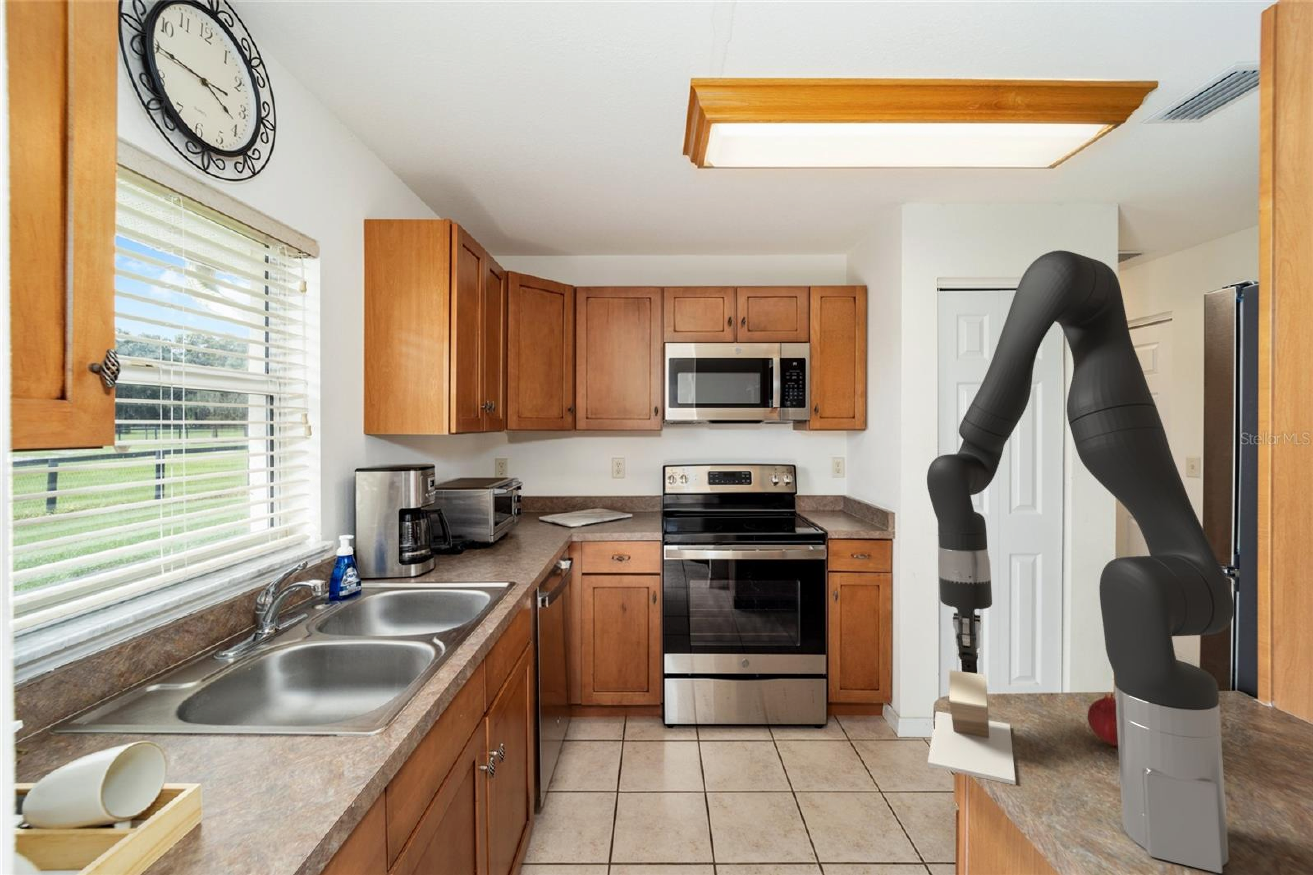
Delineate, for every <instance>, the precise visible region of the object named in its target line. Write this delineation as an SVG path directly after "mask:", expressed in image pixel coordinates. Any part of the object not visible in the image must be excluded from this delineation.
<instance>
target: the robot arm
mask: <svg viewBox="0 0 1313 875" xmlns="http://www.w3.org/2000/svg"><path fill="white" fill-rule="evenodd" d="M1055 322H1057V323H1058V324H1059V326H1060V327H1061V329H1062V331H1063V333H1064V336H1065V338H1066V340H1067V343H1068V346H1069V347H1068V348H1069V349H1070V352H1071V356H1072V364H1073V371H1072V378H1071V382H1070V385H1069V390H1068V393H1067V394H1068V395H1067V401H1066V415H1067V421H1068V425H1069V427H1070V428H1069V429H1070V432H1071V435H1072V439H1073V441H1074V445H1075V449H1076V452H1077V454H1078V457H1079V458H1080V461H1081V463H1082V464H1083V465H1084V467H1085V468H1086V470H1088V472H1089V473H1090V474H1091V475H1092V476H1093V477H1094V478H1095V480H1096V481H1098V482H1099V484H1101V485H1102V486H1103V487H1104V488H1105V489H1106V490H1107V491H1108V492H1109V493H1110V494H1111V495H1112V496H1113V497H1114V498H1116V499H1117V500H1118V502H1120V503H1121V504H1122V505H1123V506H1124V508H1125V509H1127V511H1128V512H1129V514H1130V515H1131V516H1132V518H1133V519H1134V520H1135V522H1136V524H1137V526H1138V527H1139V529H1140V532H1141V534H1142V536H1143V539H1144V541H1145V544H1146V547H1147V550H1148V552H1149V555H1140V556H1139V555H1137V556H1123V557H1122V556H1121V557H1118V558H1114V559H1112V560H1110V561H1109V562H1108V563H1107V564H1106V565H1105V566H1104V568H1103V569H1102V571H1101V574H1100V575H1101V576H1100V579H1099V585H1098V586H1099V588H1098V589H1099V603H1100V610H1101V618H1102V626H1103V627H1102V628H1103V635H1104V643H1105V644H1104V645H1105V651H1106V656H1107V658H1108V661H1109V664H1110V667H1111V670H1112V672H1113V676H1114V678H1113V680H1114V695H1115V700H1116V717H1117V734H1118V745H1117V750H1118V752H1117V753H1118V764H1119V765H1118V766H1119V782H1120V783H1119V784H1120V785H1119V786H1120V799H1121V815H1122V816H1121V817H1122V827H1123V830H1124V832H1125V833H1126V834H1127V835H1128V837H1130V838H1129V839H1131V840H1132V841H1134V842H1135V843H1136V844H1138V845H1139V846H1141V847H1142V848H1143V849H1144V850H1145V851H1146V852H1147V854H1148V856H1150V857H1152V858H1155V859H1160V860H1164V861H1168V862H1171V863H1177V864H1181V865H1185V866H1188V867H1192V868H1196V869H1201V870H1205V871H1209V872H1213V873H1218V874H1223V872H1224V871H1223V867H1224V865H1225V866H1226V864H1227V863H1228V862H1229V857H1230V856H1229V842H1228V840H1229V839H1228V827H1227V826H1228V824H1227V813H1226V798H1225V797H1226V796H1225V781H1224V765H1223V761H1224V760H1223V749H1222V731H1221V729H1222V728H1221V726H1222V725H1221V715H1220V714H1221V713H1220V710H1221V709H1220V695H1219V694H1220V693H1219V685H1218V682H1217V680H1216V679H1215V677H1214V676H1213V675H1212V674H1211V673H1210V672H1208V671H1207V670H1205V669H1203V668H1201V667H1198V666H1197V665H1194V664H1192V663H1188V662H1186V661H1183V660H1179V659H1177V657H1176V653H1175V646H1174V642H1173V637H1187V636H1188V637H1189V636H1207V635H1208V636H1209V635H1215V634H1216V635H1217V634H1219V633H1221V632H1223V631H1225V630H1226V629H1227V628H1228V627H1229V626H1230V625H1231V624H1232V620H1233V618H1234V612H1235V602H1234V599H1233V591H1232V589H1231V586H1230V584H1229V581H1228V579H1227V575H1226V573H1225V571H1224V569H1223V567H1222V565H1221V563H1220V561H1219V559H1218V557H1217V555H1216V554H1217V553H1216V552H1215V550H1214V548H1213V547H1212V544H1211V543H1210V541H1209V538H1208V537H1207V534H1206V532H1205V531H1204V529H1203V527H1202V525H1201V523H1200V520H1199V518H1198V516H1197V514H1196V512H1195V509H1194V507H1193V505H1192V502H1191V501H1190V499H1189V495H1188V494H1187V491H1186V488H1185V485H1184V483H1183V480H1182V478H1181V477H1182V476H1181V475H1180V472H1179V471H1178V467H1177V464H1176V462H1175V459H1174V456H1173V453H1172V451H1171V448H1170V445H1169V440H1168V437H1167V434H1166V431H1165V428H1164V425H1163V422H1162V419H1161V416H1160V414H1159V410H1158V408H1157V405H1156V402H1155V400H1154V398H1153V395H1152V393H1151V391H1150V388H1149V385H1148V382H1147V379H1146V376H1145V374H1144V371H1143V367H1142V365H1141V362H1140V360H1139V357H1138V354H1137V351H1136V350H1135V347H1134V344H1133V341H1132V337H1131V333H1130V328H1129V324H1128V320H1127V313H1126V309H1125V303H1124V298H1123V293H1122V289H1121V285H1120V282H1119V278H1118V276H1117V274H1116V272H1115V271H1114V270H1113V269H1112V268H1111V267H1110V266H1109V265H1107V264H1106V263H1104V262H1103V261H1100V260H1099V259H1098V260H1097V259H1095V258H1091V257H1089V256H1085V255H1083V254H1080V253H1075V252H1073V251H1069V250H1062V249H1061V250H1060V249H1059V250H1053V251H1050V252H1047V253H1044V254H1042V255H1040V256H1039V257H1038V258H1036V259H1035V260H1034V261H1033V262H1032V263H1031V264H1030V265H1029V266H1028V267H1027V268H1026V269H1025V271H1024V274H1023V275H1022V277H1021V279H1020V281H1019V283H1018V286H1017V288H1016V290H1015V293H1014V295H1013V298H1012V302H1011V304H1010V308H1009V310H1008V313H1007V316H1006V319H1005V322H1004V324H1003V327H1002V331H1001V333H1000V336H999V339H998V342H997V344H996V348H995V351H994V353H993V357H992V359H991V362H990V365H989V366H988V369H987V372H986V374H985V376H984V379H983V381H982V383H981V384H980V386H979V389H978V390H977V392H976V394H975V396H974V398H973V400H972V402H971V404H970V406H969V407H968V409H967V411H966V413H965V415H964V416H963V418H962V419H961V420H962V421H960V424H959V428H958V434H959V436H960V437H961V439H963V440H962V443H961V445H960V448H959V450H958V451H957V453H953V454H951V453H950V454H942V455H940V456H938V457H936V458H935V459H934V460H932V462H931V464H930V465H929V467H928V470H927V475H926V484H927V485H926V486H927V491H928V496H929V498H930V501H931V504H932V508H933V511H934V512H933V513H934V514H935V517H936V519H937V524H938V525H937V526H938V527H937V528H938V545H939V546H938V547H939V549H938V558H937V560H938V563H937V564H938V578H939V583H938V584H939V595H940V596H939V599H940V602H941V603H942V604H943V605H945V606H947V607H949V608H951V607H953V608H955V609H956V610H957V612H953V616H952V627H953V629H954V633H955V637H954V638H955V645H956V646H957V647H958V657H959V660H960V664H961V666H960V667H961V672H968V673H976V674H978V660H979V652H978V649H979V648H980V646H981V628H982V627H981V626H982V625H981V623H982V621H981V617H982V616H981V614H976V613H975V612H976V610H985V609H989V608H991V607H992V605H993V593H992V591H993V590H992V575H991V573H992V572H991V560H990V556H989V550H988V537H987V535H988V534H987V525H986V524H987V522H986V520H985V517H984V516H983V514H982V513H980V512H978V511H975V510H974V506H973V505H974V504H973V500H972V496H974V495H977V494H979V493H980V494H981V492H983V491H985V489H987V487H988V486H989V485H990V484H991V483H992V481H993V479H994V478H995V475H996V473H997V470H998V467H999V464H1000V463H1001V459H1002V457H1003V452H1004V448H1005V445H1006V443H1007V442H1008V440H1009V438H1010V437H1011V435H1012V433H1013V431H1014V430H1015V428H1016V426H1018V423H1019V421H1020V420H1021V418H1022V417H1023V414H1024V413H1025V411H1026V409H1027V406H1028V403H1029V400H1030V396H1031V393H1032V392H1031V391H1032V385H1033V384H1032V383H1033V373H1034V367H1035V361H1036V358H1037V354H1038V352H1039V348H1040V346H1041V344H1042V342H1043V341H1044V338H1045V336H1046V335H1047V333H1048V332H1049V330H1050V329H1051V327H1052V326H1053V325H1054V323H1055Z"/></svg>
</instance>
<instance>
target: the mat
mask: <svg viewBox="0 0 1313 875" xmlns="http://www.w3.org/2000/svg"><path fill="white" fill-rule="evenodd" d="M934 721H935V729H934V726H933V727H932V734H931V740H930V746H929V752H928V757H927V767H930V768H935V769H939V770H944V771H949V772H952V773H957V774H963V775H967V776H972V777H977V778H982V779H984V780H991V781H995V782H999V783H1000V782H1001V783H1004V784H1007V785H1008V784H1010V785H1014V786H1016V774H1015V773H1016V772H1015V765H1014V754H1013V744H1012V742H1013V741H1012V734H1011V724H1010V723H1006V722H1001V721H1000V722H999V721H994V720H989V738H986V737H981V736H975V735H970V734H965V733H959V732H954V730H953V722H952V715H951V713H948V712H947V713H946V712H941V711H935V717H934Z"/></svg>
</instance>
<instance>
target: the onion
mask: <svg viewBox="0 0 1313 875" xmlns="http://www.w3.org/2000/svg"><path fill="white" fill-rule="evenodd" d="M1114 695H1115V694H1113V693H1112V692H1109V691H1108V692H1105V696H1104V697H1103V698H1100V699H1097V700H1096V701H1094V702H1093V703H1092V704H1091V705H1090V707H1089V708H1088V712H1087V721H1088V725H1089V726H1090V728H1091V729H1092V731H1093V732H1094V733H1095V735H1096V736H1098V738H1099V739H1101V740H1103V741H1104V742H1105V743H1106V744H1108V745H1109V746H1112V747H1116V746H1117V747H1118V734H1117V717H1116V697H1114Z"/></svg>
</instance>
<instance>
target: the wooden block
mask: <svg viewBox="0 0 1313 875" xmlns="http://www.w3.org/2000/svg"><path fill="white" fill-rule="evenodd" d="M948 682H949V698H948V700H949V707H950V712H951V713H950V714H951V715H952V722H953V730H954V732H959V733H965V734H970V735H975V736H981V737H986V738H989V721H990V720H989V704H988V691H987V690H988V689H987V688H988V687H987V675H986V674H981V673H977V674H976V673H968V672H962V670H961V671H960V670H953V669H949V681H948Z"/></svg>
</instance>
